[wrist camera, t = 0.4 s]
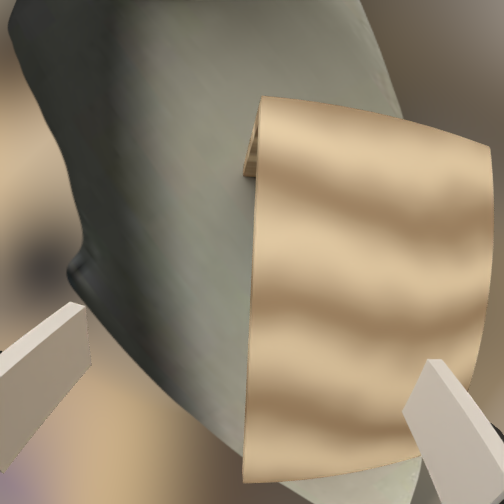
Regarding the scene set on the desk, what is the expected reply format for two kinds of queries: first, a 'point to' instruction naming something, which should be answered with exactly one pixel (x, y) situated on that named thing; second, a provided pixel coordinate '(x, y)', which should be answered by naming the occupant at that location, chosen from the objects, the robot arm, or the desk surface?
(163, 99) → the desk surface
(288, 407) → the wooden monitor riser
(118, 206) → the desk surface
